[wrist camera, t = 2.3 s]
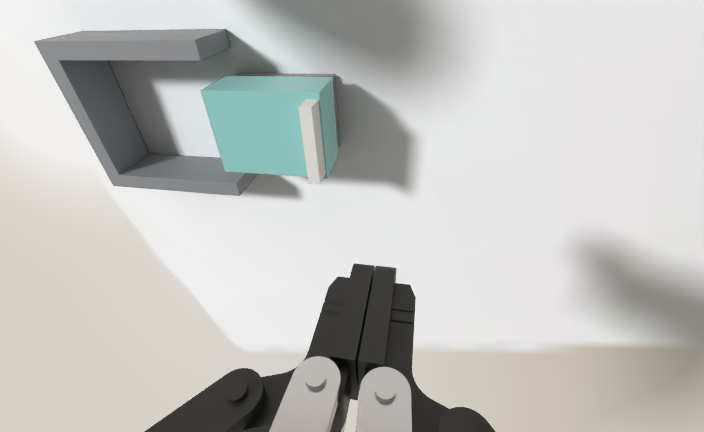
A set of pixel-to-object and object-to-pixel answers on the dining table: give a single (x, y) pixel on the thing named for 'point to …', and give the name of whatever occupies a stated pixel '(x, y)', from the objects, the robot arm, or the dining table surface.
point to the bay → (114, 114)
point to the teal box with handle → (275, 123)
